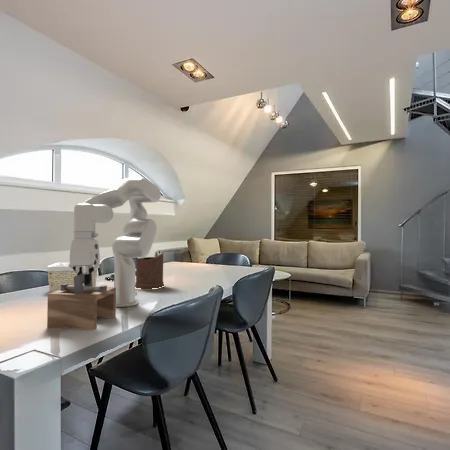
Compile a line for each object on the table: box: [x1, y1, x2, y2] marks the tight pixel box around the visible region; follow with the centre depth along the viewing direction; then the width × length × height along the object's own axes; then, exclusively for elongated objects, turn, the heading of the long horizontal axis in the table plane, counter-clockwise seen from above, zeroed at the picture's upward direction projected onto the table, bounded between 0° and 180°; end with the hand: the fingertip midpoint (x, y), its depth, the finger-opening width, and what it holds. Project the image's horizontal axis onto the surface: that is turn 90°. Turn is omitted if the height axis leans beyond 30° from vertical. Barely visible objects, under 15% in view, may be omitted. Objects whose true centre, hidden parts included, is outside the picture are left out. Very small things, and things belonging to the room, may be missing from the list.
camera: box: [104, 273, 114, 281], centre depth 210 cm, size 5×10×4 cm, turn 57°
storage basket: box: [46, 261, 98, 293], centre depth 179 cm, size 24×16×15 cm
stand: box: [46, 284, 117, 331], centre depth 120 cm, size 16×18×14 cm
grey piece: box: [74, 272, 93, 294], centre depth 120 cm, size 8×2×8 cm, turn 172°
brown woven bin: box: [134, 252, 165, 289], centre depth 189 cm, size 18×24×25 cm
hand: (83, 283), depth 120 cm, fingers closed on grey piece, 2 cm apart
